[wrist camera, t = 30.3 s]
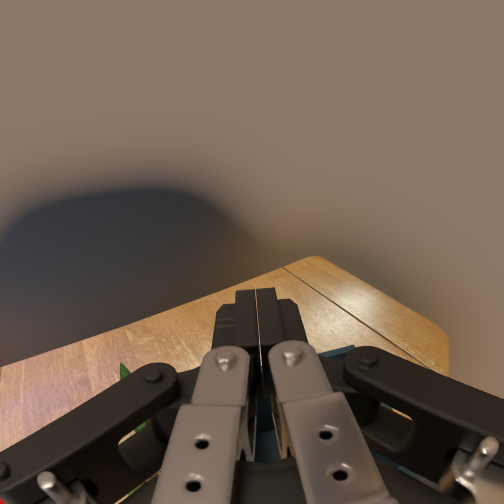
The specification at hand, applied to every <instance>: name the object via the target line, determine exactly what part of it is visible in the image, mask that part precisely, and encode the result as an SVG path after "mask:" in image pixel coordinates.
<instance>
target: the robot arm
mask: <svg viewBox="0 0 504 504" xmlns="http://www.w3.org/2000/svg"><path fill="white" fill-rule="evenodd" d="M256 296H257V309H258V320H257V309H256V298H255V289H251V290H238V291H236V297H235V303H234V304H223V305H222V306H221V307H220V308H219V310H218V311H217V312H216V319H215V326H214V327H215V328H214V333H213V340H212V348H211V351H209V352H208V353H207V354H206V355H205V356H204V358H203V360H202V364H201V366H199V367H197V368H195V369H192V370H188V371H184V372H180V373H177V372H176V370H175V368H174V367H172V366H171V365H169V364H166V363H150V364H147V365H144V366H142V367H140V368H139V369H137V370H136V371H134V372H133V373H131V374H129V375H128V376H126V377H125V378H123V379H122V380H120V381H118V382H117V383H115V384H114V385H112V386H110V387H109V388H107V389H106V390H104V391H103V392H101V393H99V394H98V395H96V396H94V397H93V398H91V399H90V400H88V401H86V402H85V403H83V404H81V405H80V406H78V407H77V408H75V409H73V410H72V411H70V412H68V413H67V414H65V415H63V416H62V417H60V418H58V419H57V420H55V421H53V422H52V423H50V424H48V425H47V426H45V427H43V428H41V429H40V430H38V431H36V432H35V433H33V434H31V435H30V436H28V437H26V438H24V439H23V440H21V441H19V442H17V443H16V444H14V445H12V446H10V447H9V448H7V449H5V450H3V451H1V452H0V499H1V500H2V501H4V503H5V504H114V503H116V502H117V501H118V500H120V499H121V498H123V497H124V496H125V495H127V494H128V493H130V492H131V491H132V490H134V489H135V488H136V487H138V486H139V485H140V484H142V483H143V482H144V481H146V480H147V479H148V478H150V477H151V476H152V475H154V474H155V473H156V472H157V471H159V470H160V469H161V471H160V474H159V475H158V476H156V477H154V478H152V479H150V480H149V481H147V482H146V483H145V484H143V485H142V486H141V487H140V488H138V489H137V490H136V491H135V492H133V493H132V494H131V495H129V496H128V497H127V498H126V499H124V500H123V501H122V502H120V503H119V504H504V399H502V398H499V397H497V396H494V395H491V394H489V393H486V392H484V391H481V390H478V389H476V388H474V387H471V386H469V385H466V384H464V383H461V382H459V381H456V380H453V379H451V378H449V377H446V376H444V375H441V374H439V373H436V372H434V371H432V370H429V369H427V368H424V367H422V366H420V365H417V364H415V363H412V362H410V361H408V360H405V359H403V358H401V357H398V356H396V355H394V354H391V353H389V352H387V351H384V350H382V349H380V348H377V347H373V346H361V347H356V348H354V349H352V350H350V351H349V352H348V353H347V354H346V355H345V357H344V359H336V358H328V357H324V356H321V355H319V354H317V353H316V351H315V349H314V348H313V347H312V346H311V345H310V344H309V343H308V340H307V336H306V333H305V329H304V326H303V323H302V320H301V316H300V313H299V309H298V306H297V304H296V303H294V302H293V301H292V300H291V299H280V300H277V296H276V291H275V287H273V288H262V289H256ZM258 322H259V332H258ZM259 335H260V345H259ZM260 347H261V359H262V370H263V382H264V393H265V398H271V403H272V415H273V421H274V426H275V431H276V436H277V441H278V445H279V450H280V455H281V460H277V461H274V462H270V463H257V462H254V455H255V438H256V422H257V416H256V412H257V399H263V386H262V373H261V359H260ZM382 403H384V404H386V405H388V406H390V407H392V408H394V409H396V410H398V411H400V412H402V413H404V414H406V415H408V416H409V417H410V418H411V419H412V420H413V421H412V420H410V419H408V418H406V417H404V416H402V415H400V414H398V413H396V412H394V411H392V410H390V409H388V408H386V407H384V406H382V405H381V404H382ZM147 420H148V422H149V424H147V425H146V426H145V427H143V428H142V429H141V430H139V431H138V432H136V433H135V434H134V435H132V436H131V437H129V438H128V439H126V440H125V441H124V442H122V443H121V444H119V445H118V443H119V441H120V440H121V439H122V438H123V437H124V436H126V435H127V434H128V433H130V432H131V431H133V430H134V429H135V428H137V427H138V426H140V425H141V424H142V423H144V422H145V421H147ZM369 449H371V450H373V451H375V452H376V453H378V454H380V455H382V456H384V457H385V458H387V459H389V460H391V461H393V462H395V463H397V464H398V465H400V466H402V467H404V468H406V469H408V470H410V471H412V472H414V473H416V474H418V475H420V476H422V477H424V478H426V479H428V480H430V481H432V482H434V483H436V484H438V489H439V491H438V490H436V489H434V488H432V487H430V486H428V485H426V484H425V483H423V482H421V481H419V480H417V479H415V478H414V477H412V476H410V475H408V474H407V473H405V472H403V471H401V470H400V469H398V468H396V467H394V466H393V465H391V464H389V463H387V462H384V461H382V460H380V459H376V458H373V457H372V455H371V453H370V450H369Z"/></svg>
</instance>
